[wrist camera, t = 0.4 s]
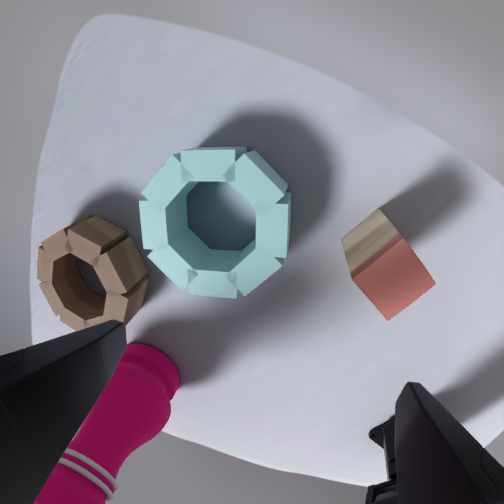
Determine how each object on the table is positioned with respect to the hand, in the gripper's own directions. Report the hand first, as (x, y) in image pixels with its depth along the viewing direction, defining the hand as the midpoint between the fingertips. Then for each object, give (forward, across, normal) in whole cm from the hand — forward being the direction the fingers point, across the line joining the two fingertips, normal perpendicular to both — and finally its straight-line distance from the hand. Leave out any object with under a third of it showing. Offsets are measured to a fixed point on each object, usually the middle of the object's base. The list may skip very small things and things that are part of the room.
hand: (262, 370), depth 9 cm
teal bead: (+13, +5, -1) cm, 14 cm away
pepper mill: (+13, +10, +15) cm, 22 cm away
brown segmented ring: (+13, +14, +5) cm, 20 cm away
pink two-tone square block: (+13, -5, -1) cm, 14 cm away
